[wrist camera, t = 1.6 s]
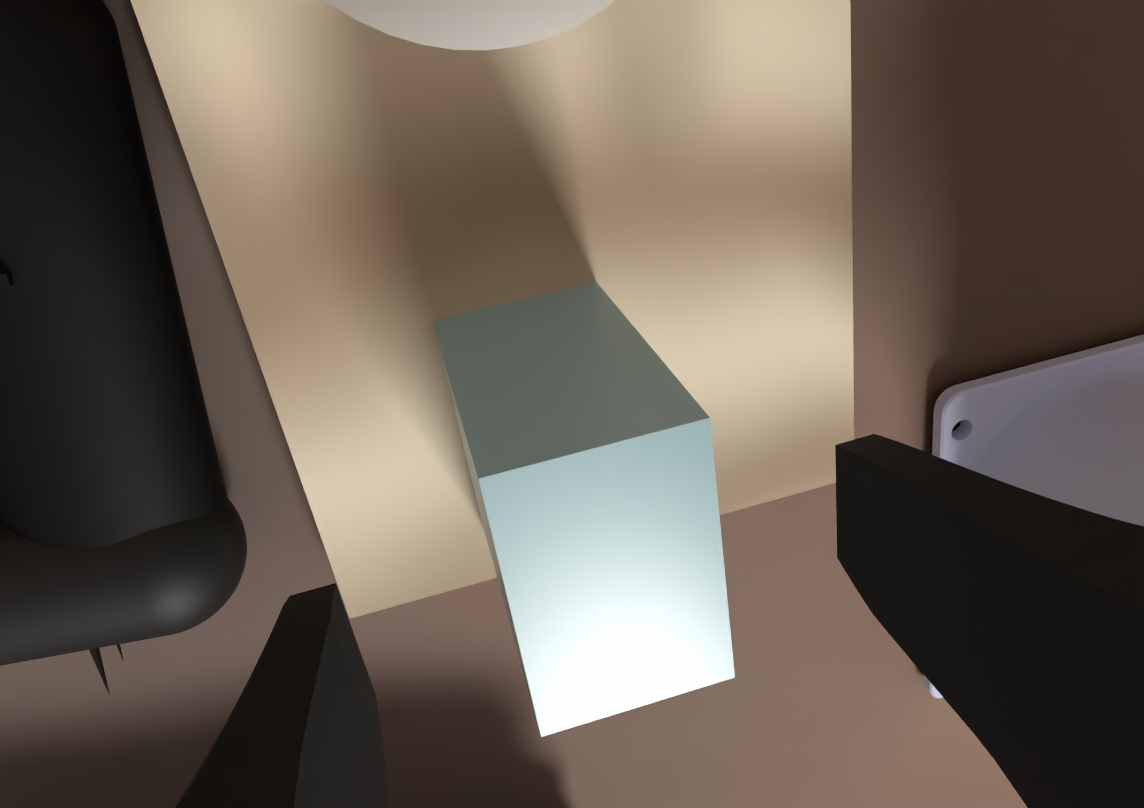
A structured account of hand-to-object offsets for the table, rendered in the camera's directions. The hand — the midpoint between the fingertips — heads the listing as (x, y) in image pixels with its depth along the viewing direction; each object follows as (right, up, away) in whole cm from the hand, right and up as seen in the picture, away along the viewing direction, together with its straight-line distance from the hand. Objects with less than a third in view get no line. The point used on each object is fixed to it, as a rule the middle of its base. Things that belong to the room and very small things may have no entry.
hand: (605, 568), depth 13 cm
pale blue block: (-1, +2, +4) cm, 5 cm away
